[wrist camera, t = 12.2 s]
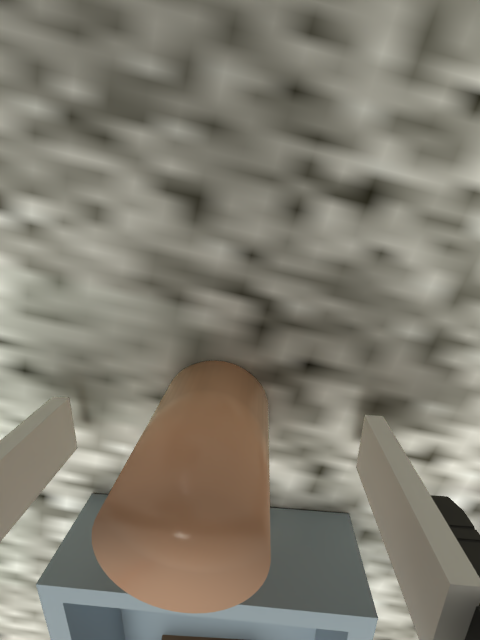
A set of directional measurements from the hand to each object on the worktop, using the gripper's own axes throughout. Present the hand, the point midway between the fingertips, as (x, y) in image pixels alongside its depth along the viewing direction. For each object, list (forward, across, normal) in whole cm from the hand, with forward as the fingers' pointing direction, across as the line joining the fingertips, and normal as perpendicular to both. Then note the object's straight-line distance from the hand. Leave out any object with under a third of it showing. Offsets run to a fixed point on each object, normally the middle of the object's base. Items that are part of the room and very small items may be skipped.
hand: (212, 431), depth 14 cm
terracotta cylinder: (+1, 0, 0) cm, 1 cm away
